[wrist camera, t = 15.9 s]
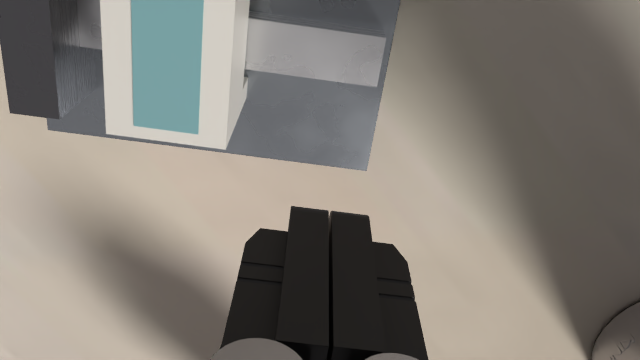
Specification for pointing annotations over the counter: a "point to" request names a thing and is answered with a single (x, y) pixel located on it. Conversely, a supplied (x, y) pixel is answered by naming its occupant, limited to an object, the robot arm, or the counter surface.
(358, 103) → the rail plate
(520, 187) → the counter surface
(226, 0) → the block
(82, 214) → the counter surface
